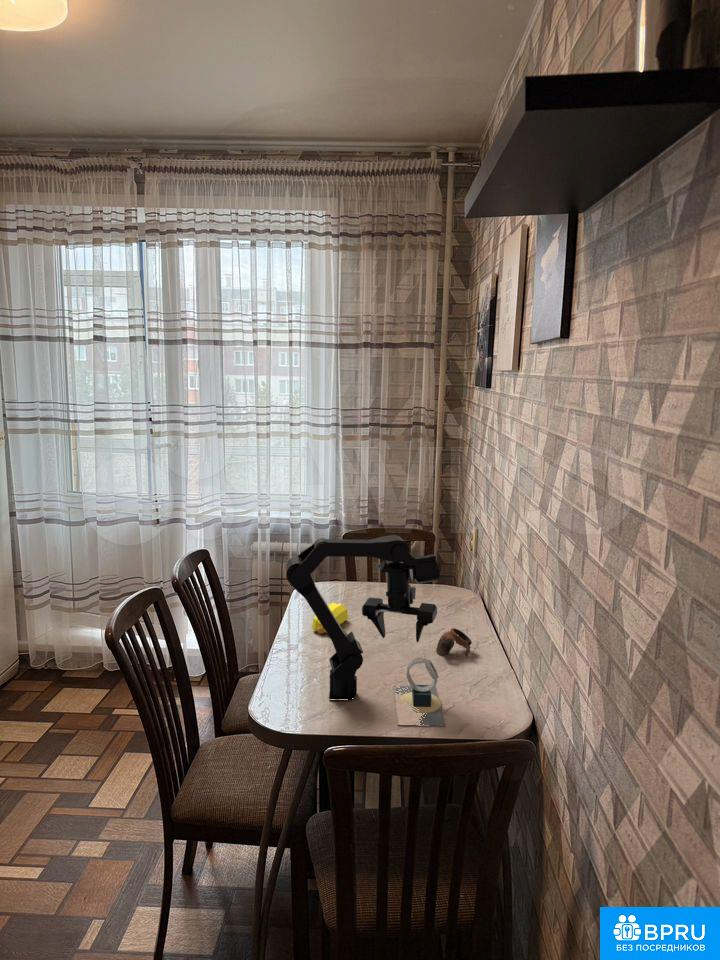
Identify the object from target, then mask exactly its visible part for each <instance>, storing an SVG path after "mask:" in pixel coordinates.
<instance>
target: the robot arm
mask: <svg viewBox="0 0 720 960" xmlns="http://www.w3.org/2000/svg"><path fill="white" fill-rule="evenodd" d="M328 557H333V558H334V557H338V558H339V557H340V558H341V557H344V558H345V557H352V558H353V557H354V558H356V557H357V558H361V557H362V558H366V557H367V558H374V559H375V558H376V559H379V560H382V562H381V563H379V564H378V566H377V568H378V570H379V571H380V573H381V574H383V573H385V574H386V592H385V595H386V597H387V603H384V601H383V598H379V597H368V598H367V599H366V601H364V603H363V605H362V607H361V614H362V616H363V617H367V620H370V621H371V622H372V624H373V625H374V626H375V628H376V629H377V631H378V632H379V634H380V636H381V637H382V639H385V637H386V626H385V618H384V614H385V613H391V614H392V613H393V614H401V615H402V614H403V615H410V616H416V620H417V621H416V623H415V641H416V643H419V642H420V639H421V636H422V633H423V630H424V627H427V626H429V624H433V623H434V621H435V619H436V617H437V615H438V607H437V605H436V604H435V603H426V602H421V604H420V605H419V607H417V606H415V607H414V606H411V605H413V603H414V600H416V590H417V589H416V588H417V587H416V586H412V585H411V584H410V579H411V581H415V583H416V584H422V583H430V582H439V580H440V577H441V576H440V574H441V573H440V569H439V565H438V562H437V556H436V555H435V554H427V555H422V556H414V554H413V553H412V552H410V547H409V545H408V544H407V542H405V540H404V539H403V538H402V537H400V536H399V535H396V534H391V535H383V536H379V537H376V538H371V539H345V538H344V539H342V538H341V539H339V538H337V539H336V538H331V539H330V538H325V537H324V538H323V537H322V538H318V539H316V541H314V543H312V544H311V545H310V546H308V547H307V548H306V549H303V551H302V552H301V553H299V554H298V555H297V556H294V557H291V558H290V559H288V560H287V561H286V564H285V567H284V569H285V571H284V572H285V577H286V580H287V582H288V583H289V584H290V585H291V586H292V587H293V589H294V590H295V591H296V592H298V593H299V595H301V596H302V597H303V598H304V599H305V601H306V602H307V604H308V605H309V607H310V608H311V610H312V612H313V613H314V615H315V616H316V617H317V618H318V620H319V621H320V623H321V625H322V626H323V628H324V629H325V631H326V632H325V633H326V634H327V636H328V637H329V639H330V640H331V642H332V644H333V647H334V651H335V653H334V654H333V655H331V657H330V658H329V663H330V664H329V665H330V668H331V669H330V670H329V694H328V695H329V696H328V700H329V699H348V700H354V699H355V700H356V697H355V696H357V694H358V691H357V688H358V686H357V685H358V683H357V682H358V677H357V675H356V674H357V671H358V669H360V668H361V667H362V666H363V662H364V657H363V653H364V651H363V648H362V645H361V643H360V641H358V640H357V638H355V635H354V632H353V630H352V631H350V632H349V633H347V632H346V631H345V630H343V628H342V626H341V624H339V623H338V621H337V620H336V618H335V616H334V615H333V613H332V612H331V610H330V608H329V607H328V605H329V604H327V602H326V600H325V599H324V597H323V596H322V593H321V592H320V591H319V589H318V588H317V586H316V582H315V579H314V577H313V576H312V575H313V574H312V573H314V572H315V571H316V569H317V568H318V567H319V566H320V564H321V563H322V562H323V561H324V560H325V559H326V558H328ZM352 698H354V699H352ZM355 700H354V701H355Z"/></svg>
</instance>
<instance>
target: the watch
mask: <svg viewBox="0 0 720 960" xmlns="http://www.w3.org/2000/svg"><path fill="white" fill-rule="evenodd" d="M418 664H424V665H425V668H426V671H427V673H428V674H429V676H430V678H432V680H433V681H432V682H431V683H430V684H416V683H415V682H414V680H413V678H412V677H411V674H410V670H411V668H413V666H415V665H418ZM406 679H407V682H408V683H409V684H408V685H409V686H411V687H412V699H413V706H414V707H431V691H430V690H432V689H433V688H434V687H437V684H438V679H439V674H438V672H437V669H436V667H435V665H434V664H433V662H432V661H431V659H427V658H424V657H418V658H415V659H413V660H411V662H409V663H408V665H407V667H406Z"/></svg>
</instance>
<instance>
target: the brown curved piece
mask: <svg viewBox="0 0 720 960" xmlns="http://www.w3.org/2000/svg"><path fill="white" fill-rule="evenodd" d="M472 643H473V641H472V640H471V638H470V637H469V636H467V634H466V633H464V632H463V631H461V630H460V629H457V628H454V627H452V628H451V629H450V630H448V631H446V632H444V633H443V634H442V635H441V636H440V638H439V640H438V643H437V644H436V645H437V646H436V649H435V651H436V653H437V655H438V656H441V654H442V655H443V656H446V657H447V656H449V655H450V652H451V650H452V649H453V648H454V646H455V644H457V645H458V646H460V647H462V648H464V649H465V653H464V657H468V655H469V653H470V652H471V644H472Z"/></svg>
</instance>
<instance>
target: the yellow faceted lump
mask: <svg viewBox="0 0 720 960" xmlns="http://www.w3.org/2000/svg"><path fill="white" fill-rule="evenodd" d="M327 605H328V607H329V608H330V610H331V612H332V613H333V615H334V616H335V618H336V620H337V621H338V623H339V624H340V625H342V624H344V621H345V622H346V621H347V620H348V619H349V614H348V609H347V608H346V606H345V605H344V604H343V603H336V602H333V603H330V604H327ZM311 627H312V630H313V632H314V633H318V634H319V635H321V634H322V635H323V634H324V633H326V631H325V629H324V628H323V626H322V625H321V623H320V621H319V620H318V618H317V617H316V615H315V616H314V617H313V619H312V625H311Z"/></svg>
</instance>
